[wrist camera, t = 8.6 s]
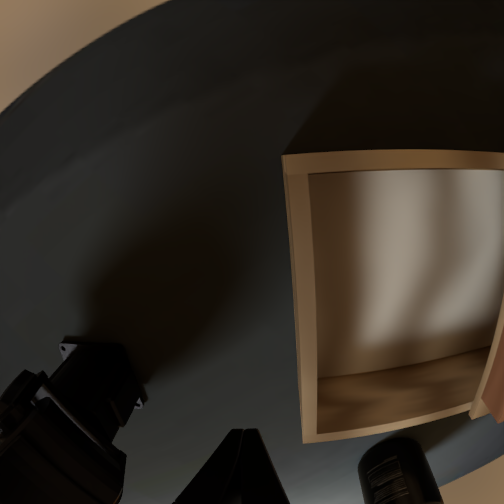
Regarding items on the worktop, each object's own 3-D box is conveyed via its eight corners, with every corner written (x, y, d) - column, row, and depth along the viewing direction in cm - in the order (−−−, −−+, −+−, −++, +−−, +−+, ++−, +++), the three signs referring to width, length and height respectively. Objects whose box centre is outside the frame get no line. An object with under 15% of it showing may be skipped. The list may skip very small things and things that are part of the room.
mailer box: (298, 383, 22) (303, 443, 17) (281, 155, 18) (285, 155, 12) (497, 346, 21) (532, 384, 15) (520, 154, 16) (575, 161, 11)
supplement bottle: (353, 479, 26) (368, 572, 15) (359, 443, 24) (382, 553, 13) (413, 466, 26) (440, 551, 14) (427, 428, 24) (466, 525, 12)
